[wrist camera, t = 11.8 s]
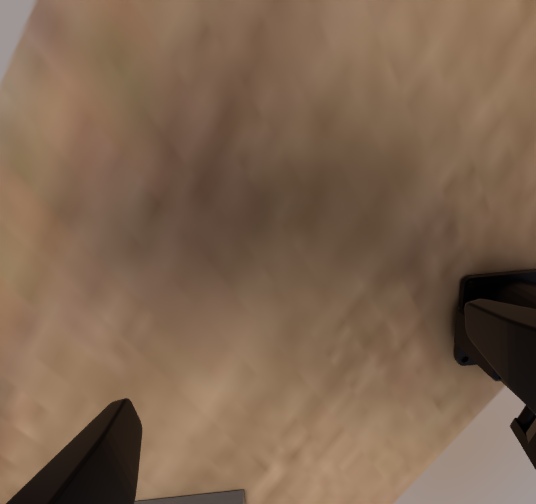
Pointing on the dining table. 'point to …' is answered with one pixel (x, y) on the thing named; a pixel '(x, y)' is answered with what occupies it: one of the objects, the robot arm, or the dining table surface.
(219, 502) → the tile
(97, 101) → the dining table surface
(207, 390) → the dining table surface
